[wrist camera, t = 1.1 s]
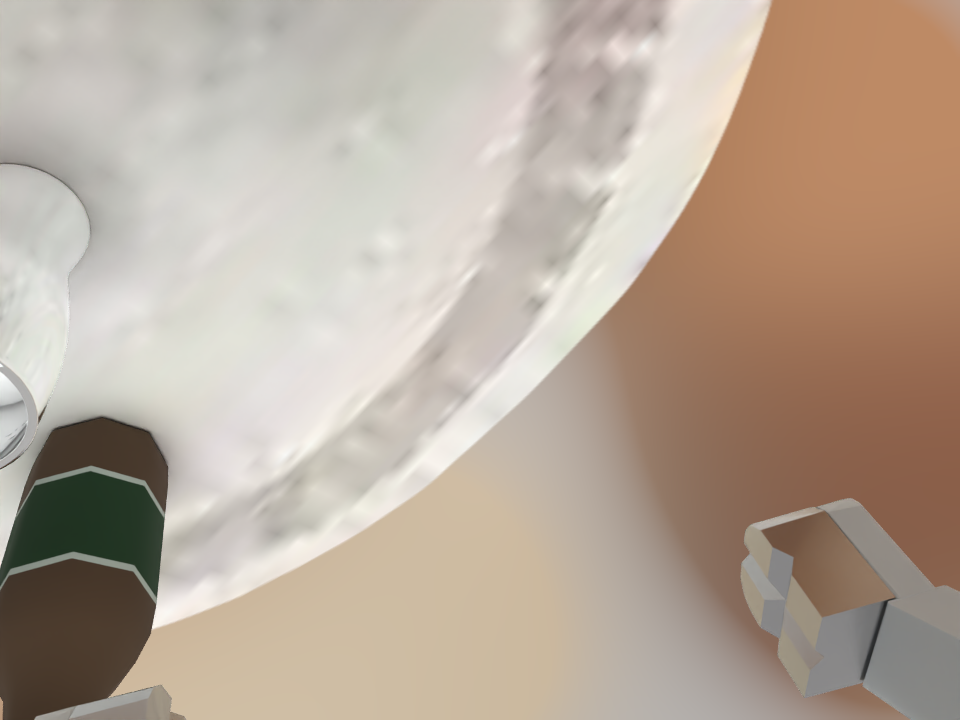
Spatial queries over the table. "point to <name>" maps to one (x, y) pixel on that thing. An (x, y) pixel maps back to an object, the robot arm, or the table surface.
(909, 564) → the robot arm
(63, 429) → the beer bottle
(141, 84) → the table surface
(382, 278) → the table surface
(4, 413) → the beer glass
